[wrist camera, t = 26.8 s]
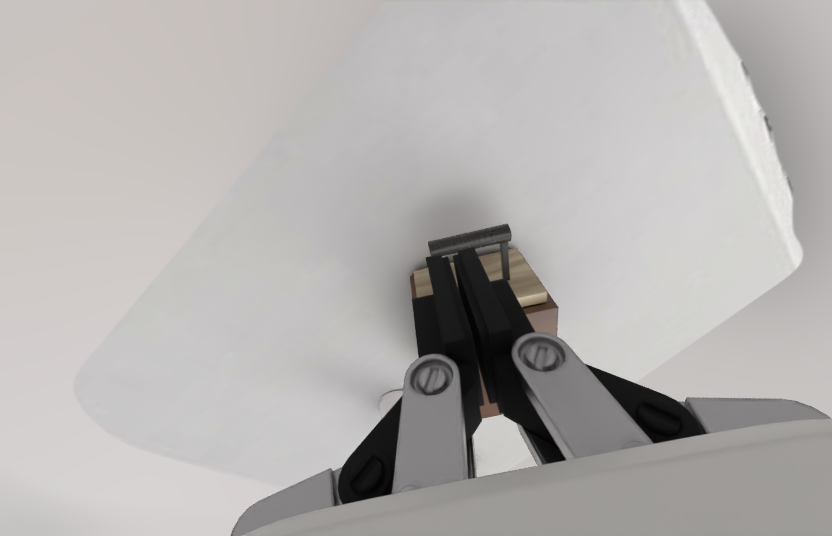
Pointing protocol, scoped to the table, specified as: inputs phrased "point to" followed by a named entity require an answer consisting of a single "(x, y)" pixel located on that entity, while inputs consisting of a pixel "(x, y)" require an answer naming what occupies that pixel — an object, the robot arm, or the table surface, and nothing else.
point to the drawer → (489, 264)
